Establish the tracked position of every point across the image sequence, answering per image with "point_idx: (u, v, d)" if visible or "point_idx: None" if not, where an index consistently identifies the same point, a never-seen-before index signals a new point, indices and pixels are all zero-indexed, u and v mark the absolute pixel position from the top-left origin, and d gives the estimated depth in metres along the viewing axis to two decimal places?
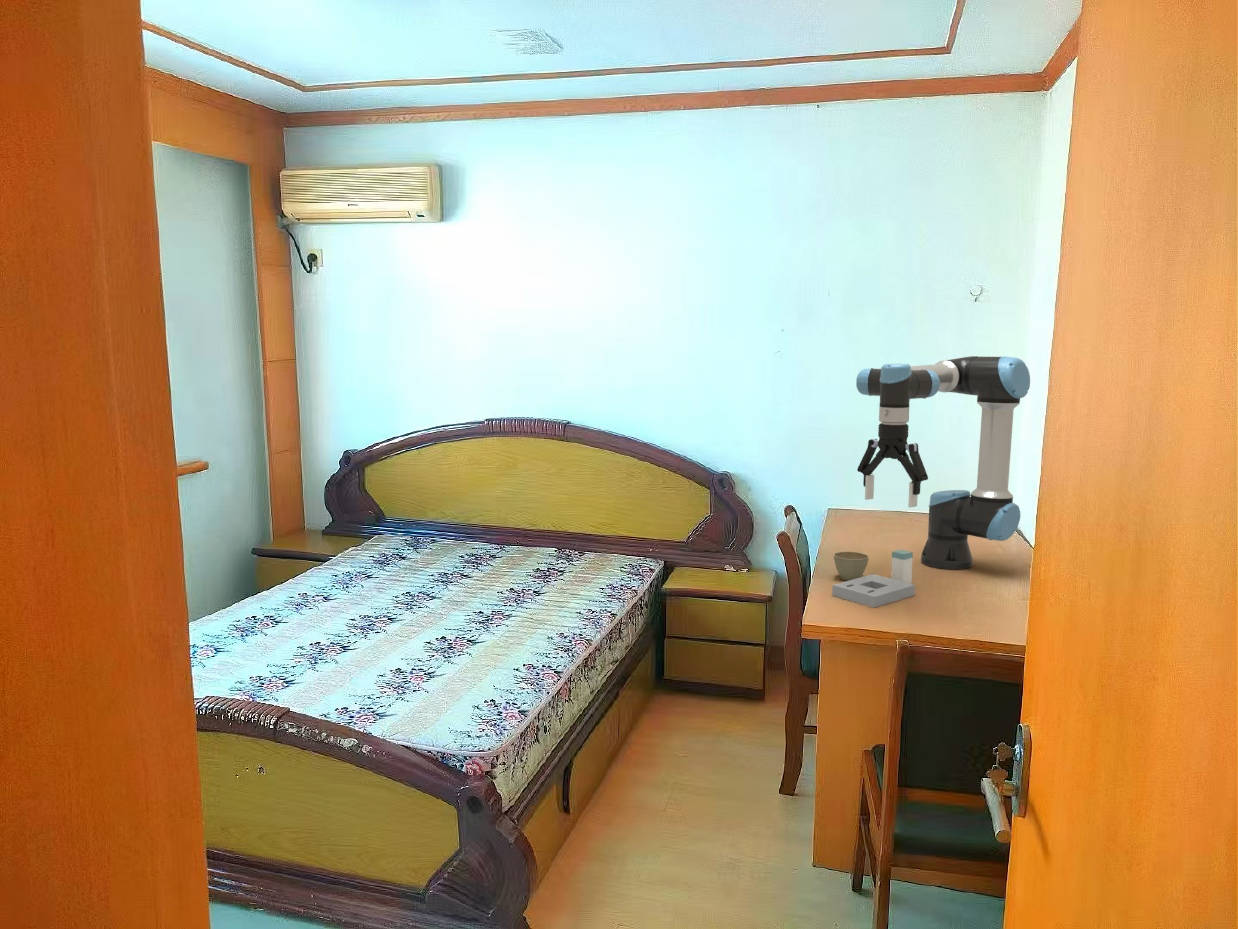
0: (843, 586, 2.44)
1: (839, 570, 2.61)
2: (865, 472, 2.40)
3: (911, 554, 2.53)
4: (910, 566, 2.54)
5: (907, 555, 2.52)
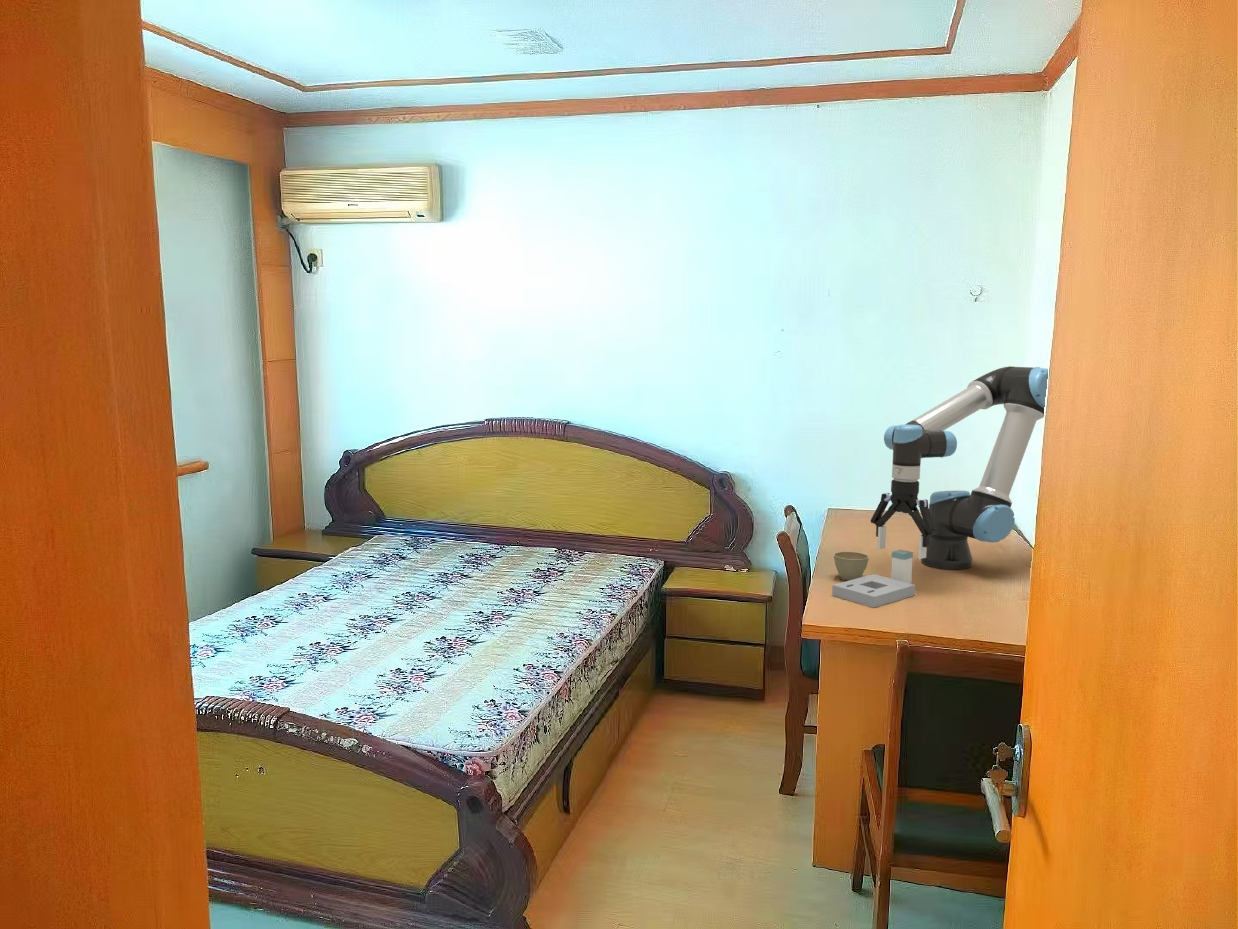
0: (843, 586, 2.44)
1: (839, 570, 2.61)
2: (878, 523, 2.58)
3: (911, 554, 2.53)
4: (910, 566, 2.54)
5: (907, 555, 2.52)
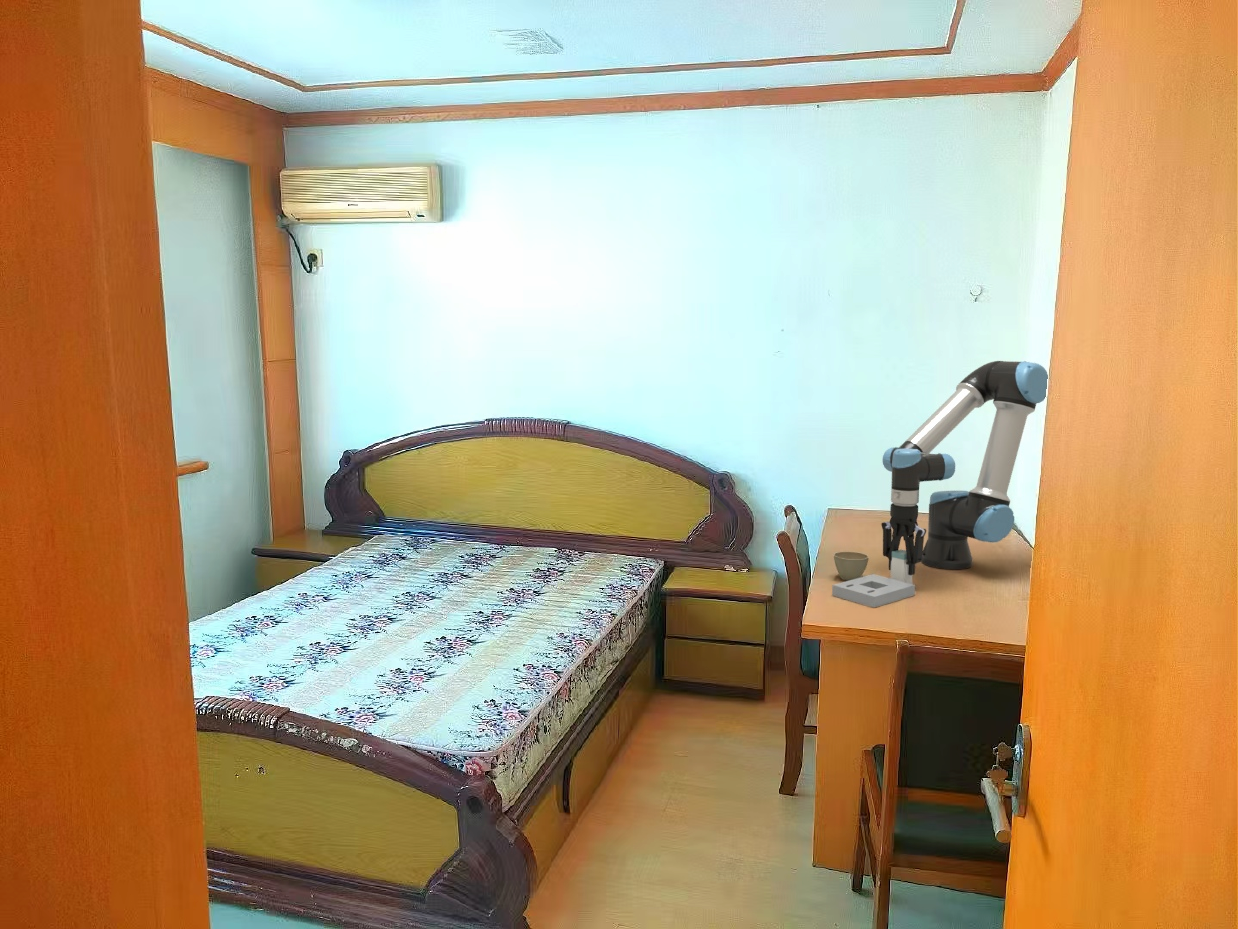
0: (843, 586, 2.44)
1: (839, 570, 2.61)
2: (890, 556, 2.56)
3: None
4: None
5: None
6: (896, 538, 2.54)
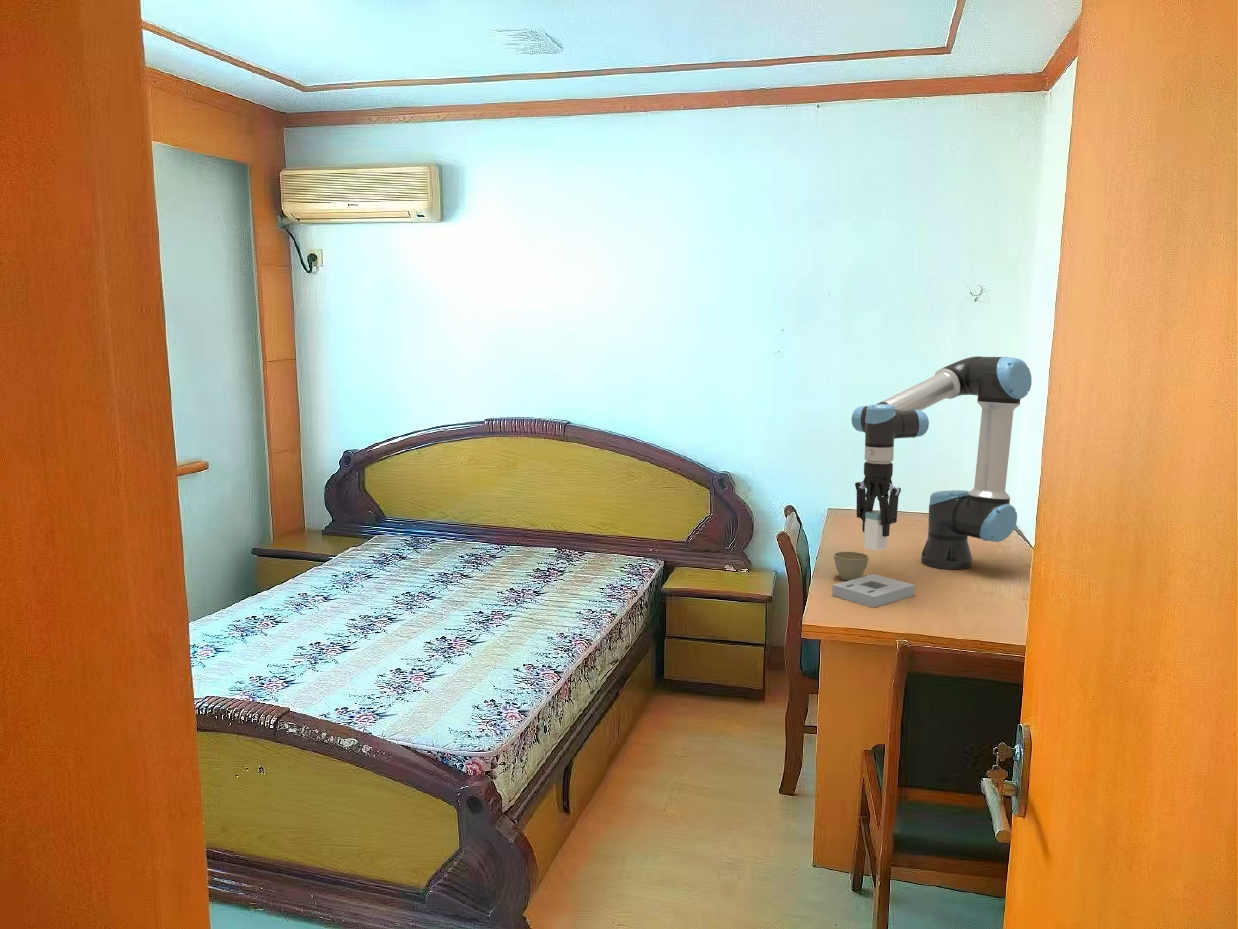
0: (843, 586, 2.44)
1: (839, 570, 2.61)
2: (864, 518, 2.45)
3: None
4: None
5: None
6: (870, 498, 2.43)
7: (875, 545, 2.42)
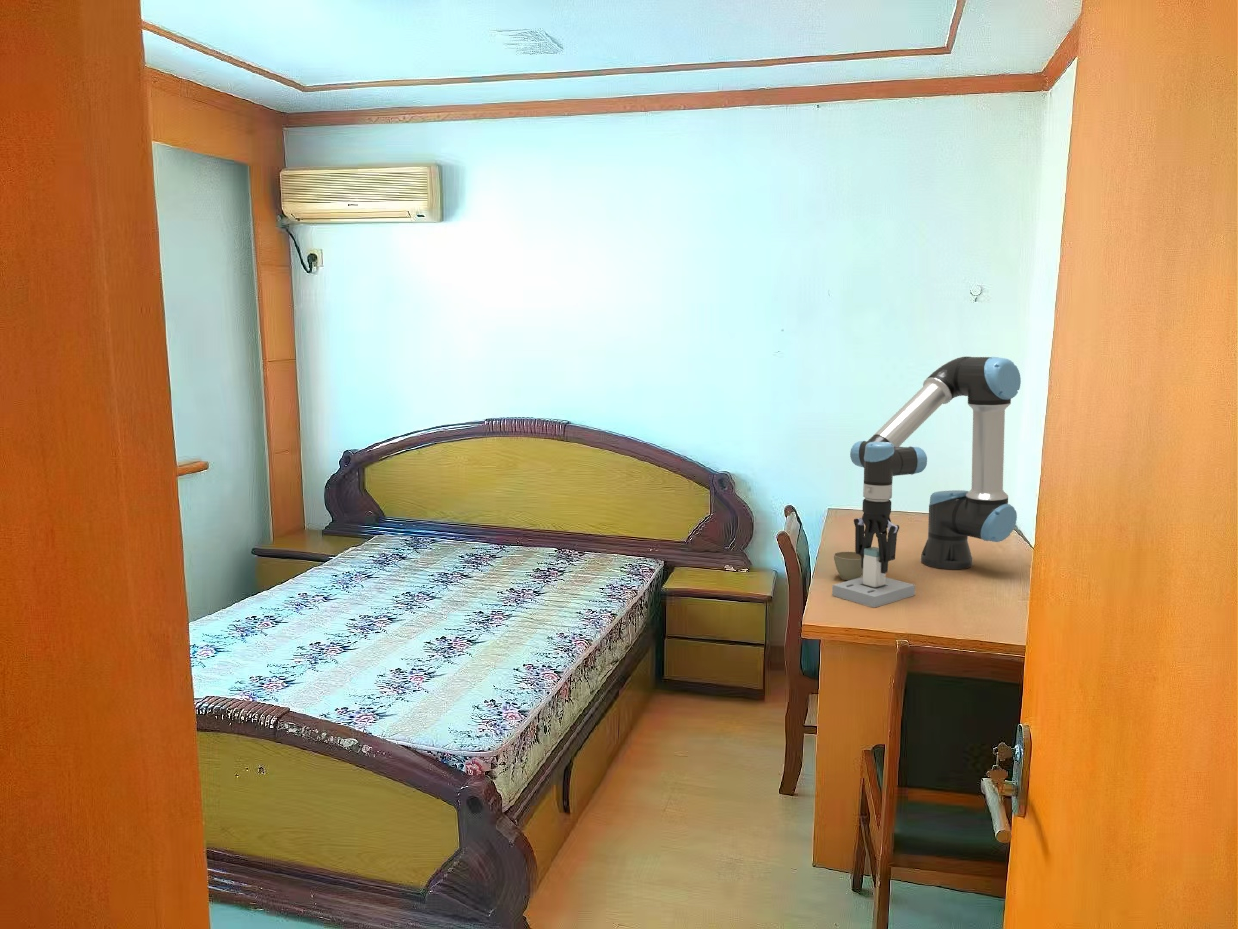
0: (843, 586, 2.44)
1: (839, 570, 2.61)
2: (862, 554, 2.46)
3: None
4: None
5: None
6: (869, 535, 2.44)
7: (874, 582, 2.43)
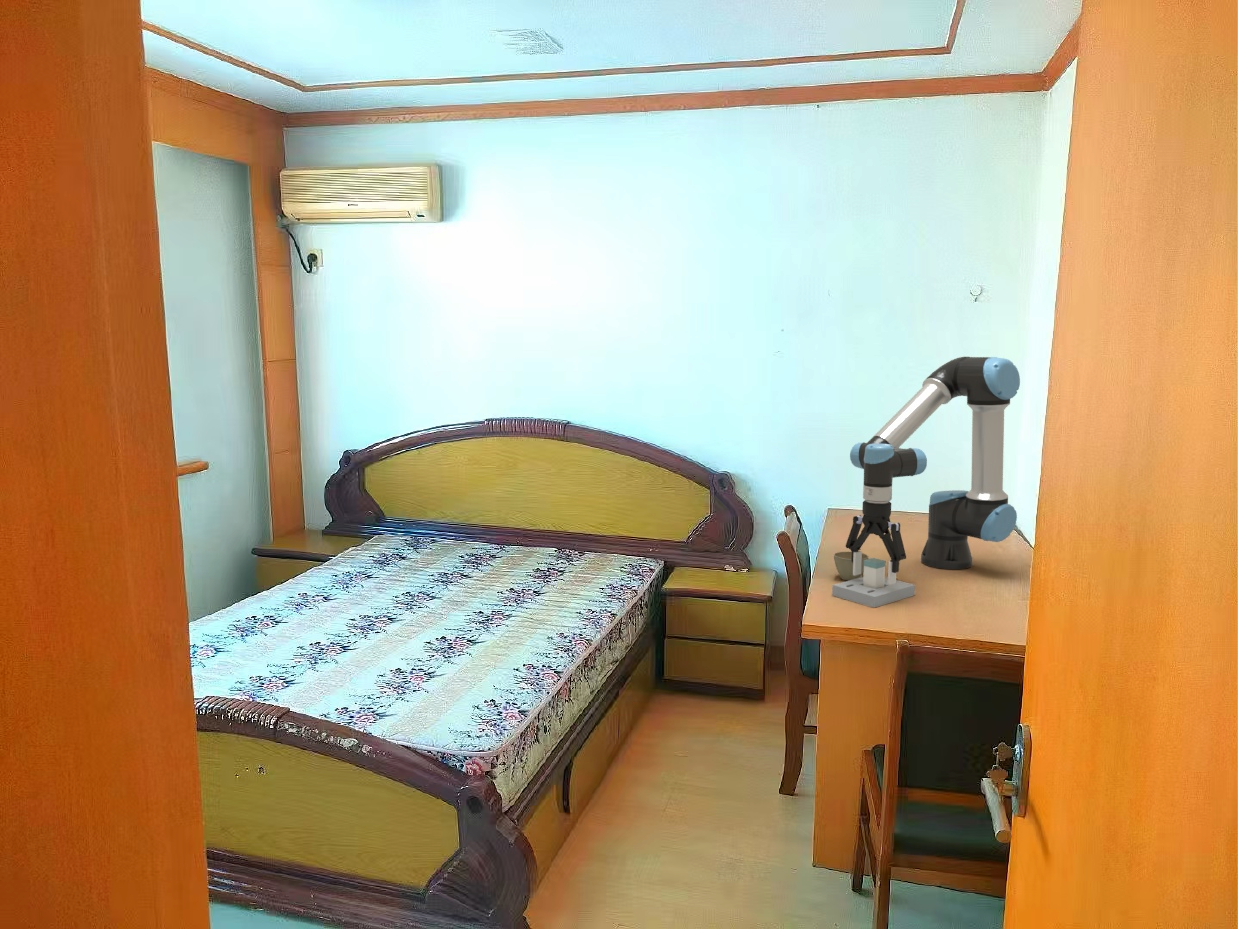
0: (843, 586, 2.44)
1: (839, 570, 2.61)
2: (853, 549, 2.49)
3: (884, 562, 2.44)
4: (883, 575, 2.44)
5: (879, 564, 2.43)
6: (864, 534, 2.45)
7: None
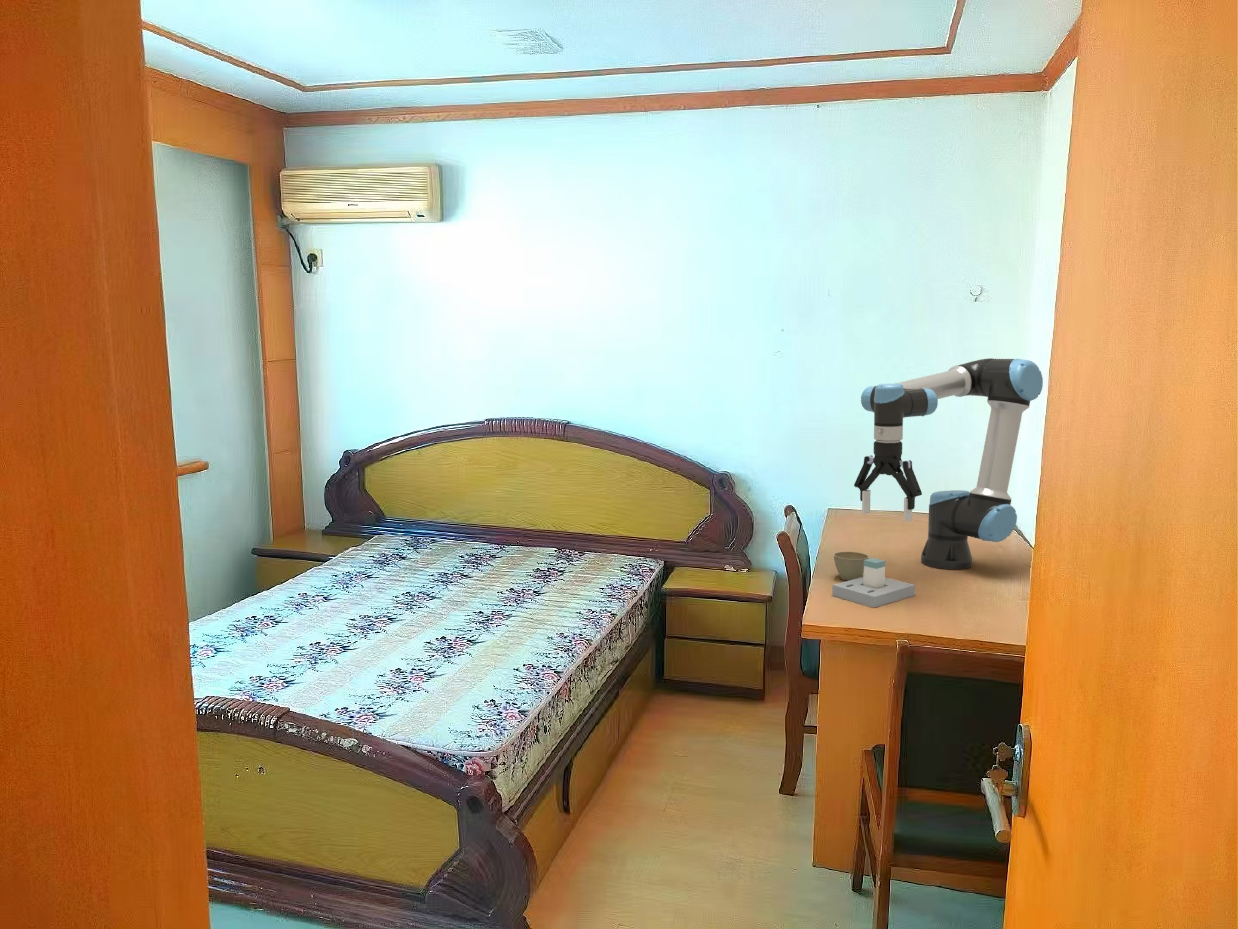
0: (843, 586, 2.44)
1: (839, 570, 2.61)
2: (862, 487, 2.50)
3: (884, 562, 2.44)
4: (883, 575, 2.44)
5: (879, 564, 2.43)
6: (875, 474, 2.46)
7: None
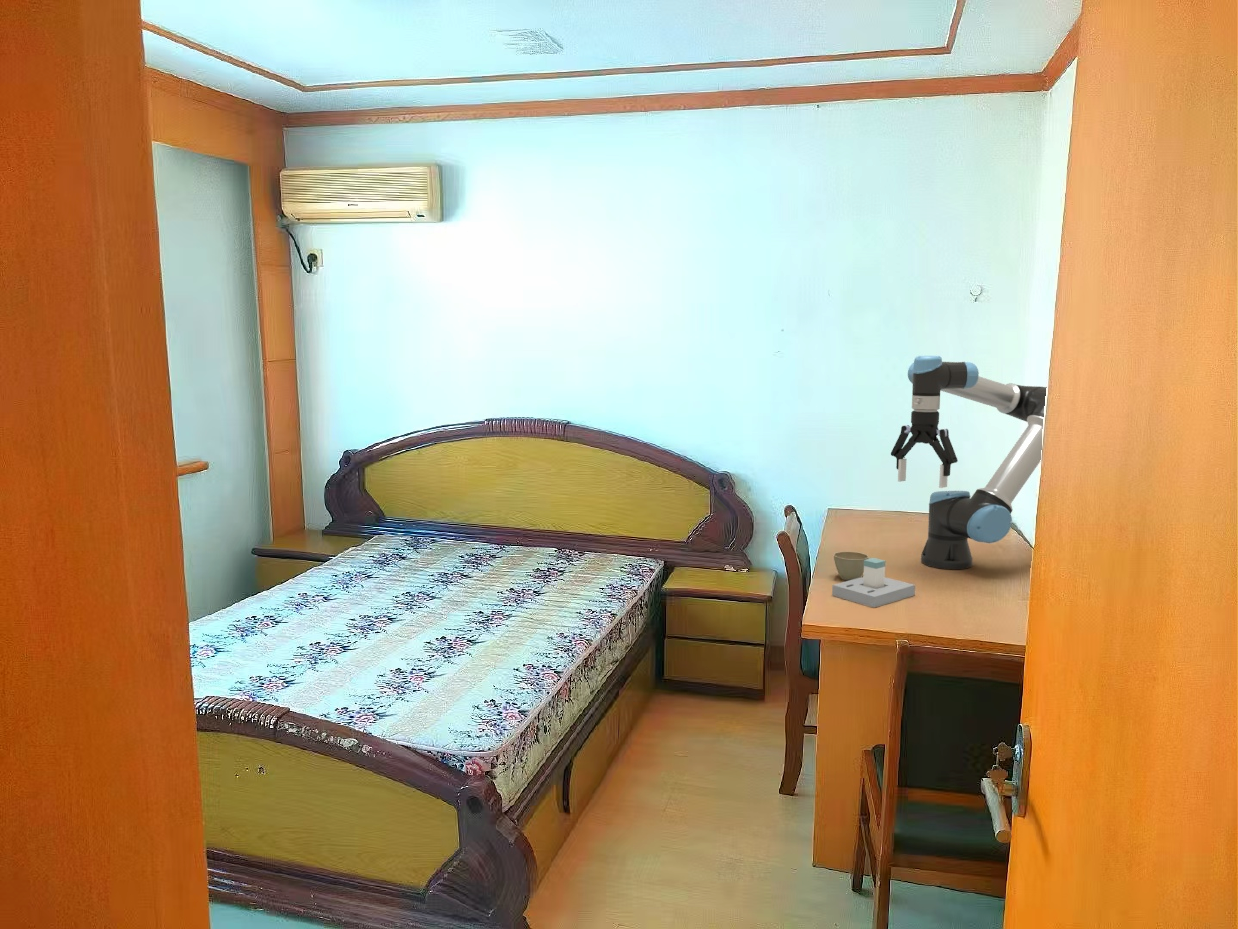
0: (843, 586, 2.44)
1: (839, 570, 2.61)
2: (898, 456, 2.60)
3: (884, 562, 2.44)
4: (883, 575, 2.44)
5: (879, 564, 2.43)
6: (911, 443, 2.56)
7: None
